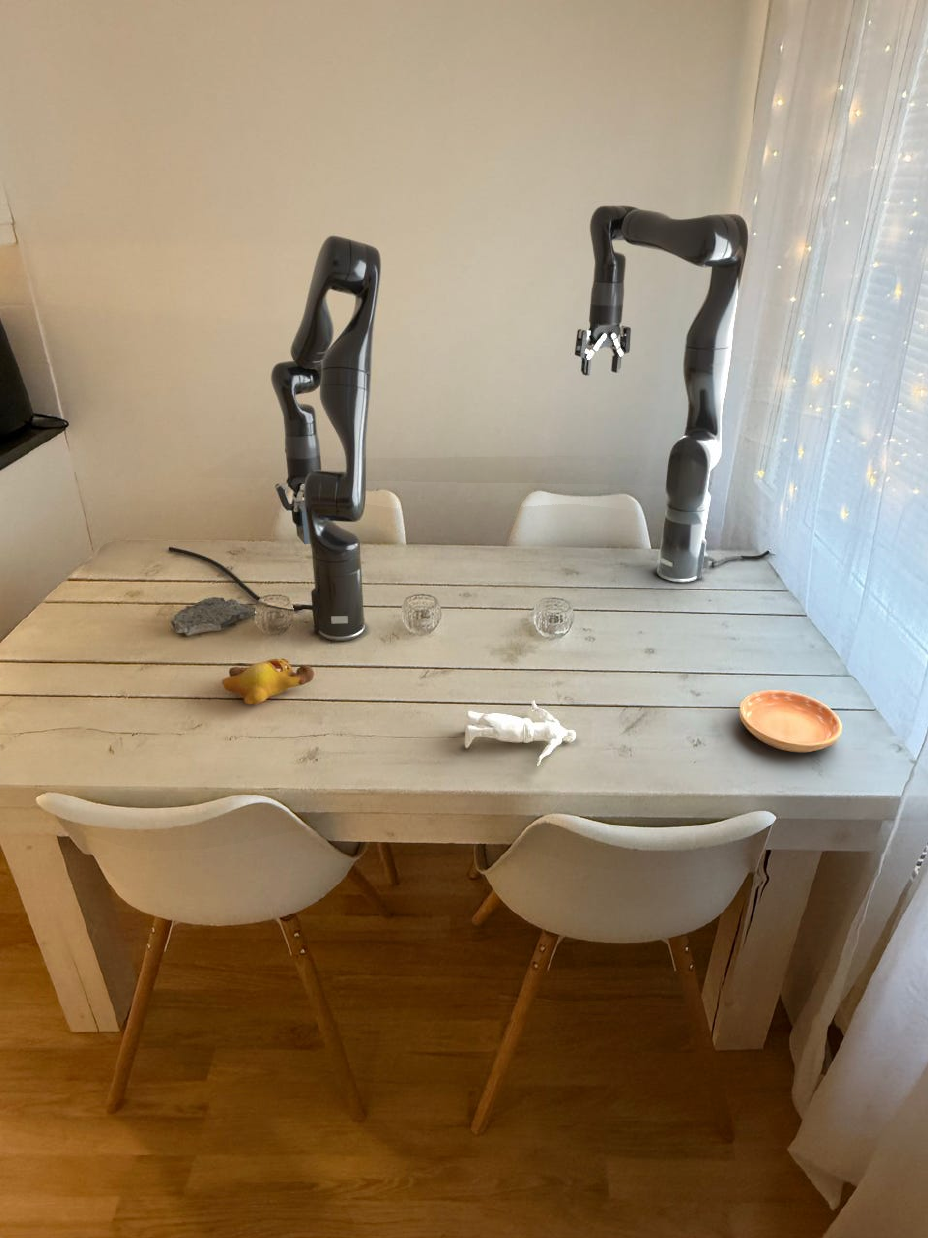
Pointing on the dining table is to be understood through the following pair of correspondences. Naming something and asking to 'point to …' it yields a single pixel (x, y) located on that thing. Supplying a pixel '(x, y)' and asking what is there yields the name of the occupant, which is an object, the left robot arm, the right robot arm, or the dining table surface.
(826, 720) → the saucer
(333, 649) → the dining table surface
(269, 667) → the toy
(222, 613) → the stone slab
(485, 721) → the figurine
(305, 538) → the block
